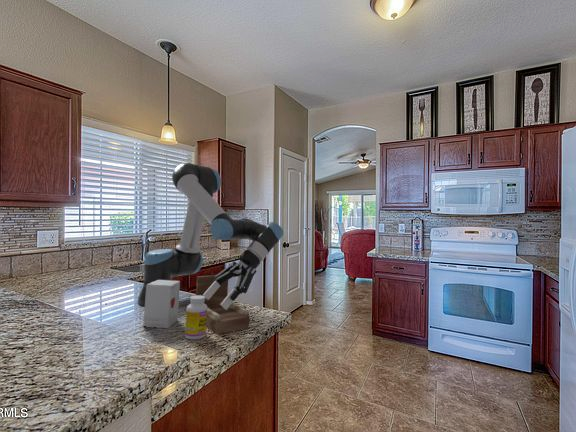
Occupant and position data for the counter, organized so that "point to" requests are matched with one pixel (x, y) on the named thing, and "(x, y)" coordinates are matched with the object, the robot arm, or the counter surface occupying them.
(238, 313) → the display stand
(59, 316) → the counter surface
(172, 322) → the supplement box
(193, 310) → the supplement bottle
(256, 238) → the robot arm
